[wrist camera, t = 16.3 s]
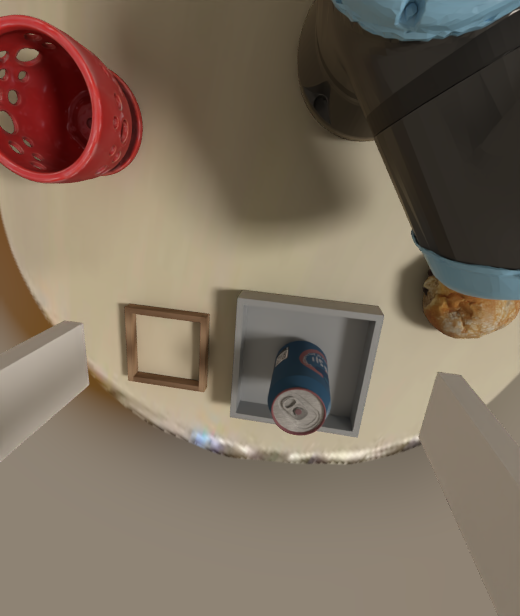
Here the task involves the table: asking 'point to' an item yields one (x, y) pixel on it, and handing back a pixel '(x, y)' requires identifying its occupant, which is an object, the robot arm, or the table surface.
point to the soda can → (299, 388)
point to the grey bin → (313, 328)
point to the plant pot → (63, 107)
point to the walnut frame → (161, 379)
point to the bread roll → (464, 311)
